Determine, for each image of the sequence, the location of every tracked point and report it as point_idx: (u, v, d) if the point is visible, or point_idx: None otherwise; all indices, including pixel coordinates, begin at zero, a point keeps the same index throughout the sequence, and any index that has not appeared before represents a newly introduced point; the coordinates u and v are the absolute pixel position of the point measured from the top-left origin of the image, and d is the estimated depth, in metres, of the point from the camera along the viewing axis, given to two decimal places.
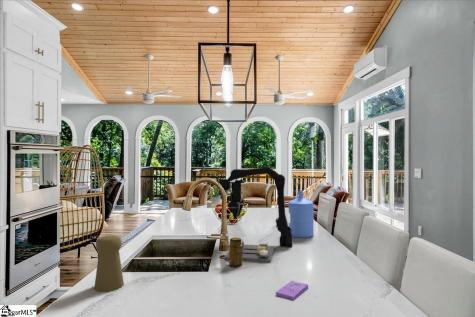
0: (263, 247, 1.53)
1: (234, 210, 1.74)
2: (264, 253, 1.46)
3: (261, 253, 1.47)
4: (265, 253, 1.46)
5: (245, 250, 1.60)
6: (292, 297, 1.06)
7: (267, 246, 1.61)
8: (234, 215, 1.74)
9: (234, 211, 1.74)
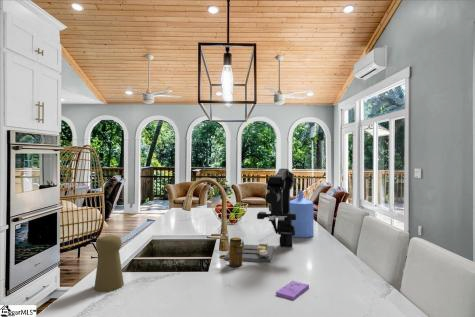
0: (263, 247, 1.53)
1: None
2: (264, 253, 1.46)
3: (261, 253, 1.47)
4: (265, 253, 1.46)
5: (245, 250, 1.60)
6: (292, 297, 1.06)
7: (267, 246, 1.61)
8: None
9: None
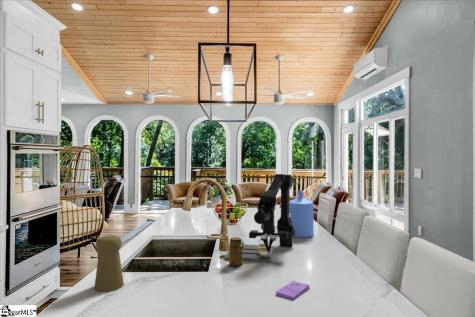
0: (263, 247, 1.53)
1: None
2: (264, 253, 1.46)
3: (261, 253, 1.47)
4: (265, 253, 1.46)
5: (245, 250, 1.60)
6: (292, 297, 1.06)
7: None
8: None
9: None
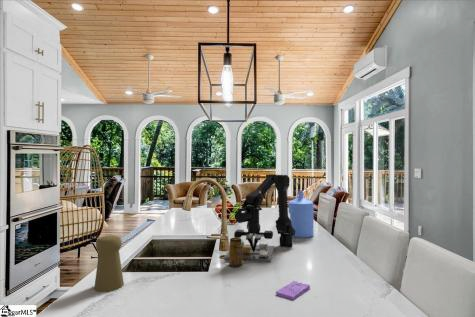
0: (248, 246, 1.54)
1: None
2: (264, 253, 1.46)
3: (261, 253, 1.47)
4: (265, 253, 1.46)
5: None
6: (292, 297, 1.06)
7: (267, 246, 1.61)
8: None
9: None
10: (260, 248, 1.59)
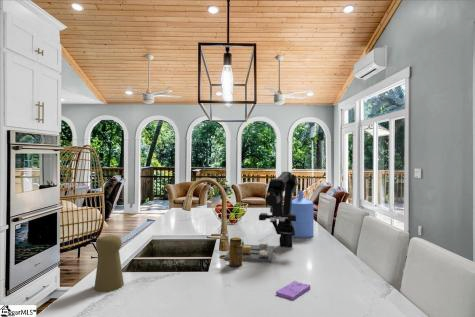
0: (248, 246, 1.54)
1: None
2: (264, 253, 1.46)
3: (261, 253, 1.47)
4: (265, 253, 1.46)
5: None
6: (291, 297, 1.06)
7: (267, 246, 1.61)
8: None
9: None
10: (260, 248, 1.59)
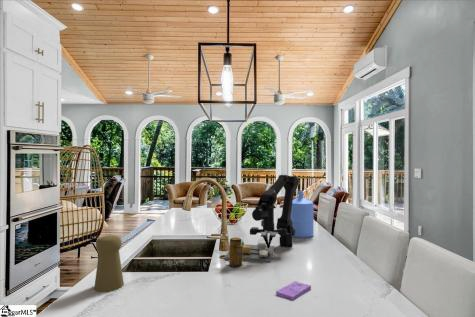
0: (248, 246, 1.54)
1: None
2: (264, 253, 1.46)
3: (261, 253, 1.47)
4: (265, 253, 1.46)
5: None
6: (291, 297, 1.06)
7: (265, 246, 1.61)
8: None
9: None
10: (258, 248, 1.59)
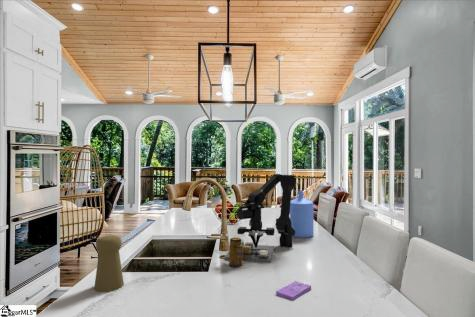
0: (248, 246, 1.54)
1: None
2: (264, 253, 1.46)
3: (261, 253, 1.47)
4: (265, 253, 1.46)
5: None
6: (291, 297, 1.06)
7: (253, 245, 1.62)
8: None
9: None
10: None
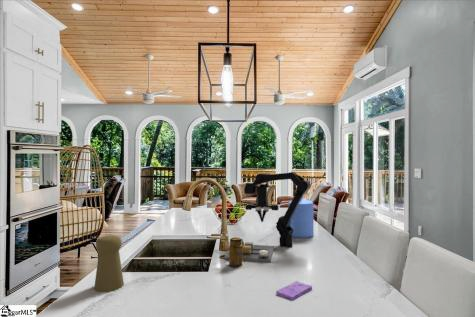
0: (248, 246, 1.54)
1: None
2: (264, 253, 1.46)
3: (261, 253, 1.47)
4: (265, 253, 1.46)
5: None
6: (291, 297, 1.06)
7: None
8: None
9: None
10: None
